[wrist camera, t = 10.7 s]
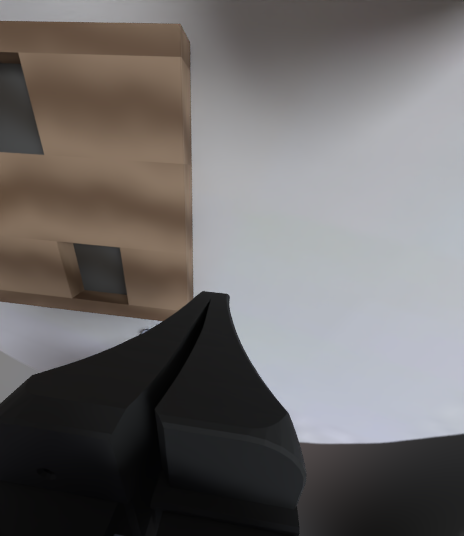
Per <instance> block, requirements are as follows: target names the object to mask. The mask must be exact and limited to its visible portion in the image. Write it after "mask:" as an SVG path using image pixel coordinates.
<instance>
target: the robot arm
mask: <svg viewBox="0 0 464 536" xmlns="http://www.w3.org/2000/svg"><path fill="white" fill-rule="evenodd" d="M229 299H230V296H229V295H228V294H223V293H214V292H205V291H202V292H201V293H200V294H198V295H197V296H196V297H195V298H193V299H192V300H191V301H190V302H189V303H187V304H186V305H185V306H183V307H182V308H181V309H180V310H178V311H177V312H176V313H174V314H173V315H171V316H170V317H168V318H167V319H166V320H164V321H163V322H161V323H160V324H158V325H156V326H155V327H153V328H151V329H149V330H144V331H143V332H142V333H141V334H140V335H138V336H136V337H134V338H132V339H130V340H128V341H126V342H124V343H122V344H119V345H117V346H115V347H113V348H111V349H108V350H106V351H103V352H101V353H98V354H96V355H93V356H90V357H87V358H85V359H82V360H79V361H76V362H73V363H70V364H67V365H64V366H61V367H58V368H54V369H51V370H48V371H45V372H42V373H38V374H35V375H32V376H31V377H30V378H29V379H27V380H26V381H25V382H24V383H23V384H22V385H21V386H20V387H19V388H17V389H16V390H15V391H14V392H13V393H12V394H11V395H9V396H8V397H7V398H6V399H5V400H4V401H3V402H2V403H1V404H0V536H299V521H298V512H297V504H298V501H299V498H300V496H301V494H302V491H303V488H304V486H305V482H306V469H305V463H304V459H303V455H302V451H301V448H300V444H299V441H298V438H297V435H296V431H295V429H294V426H293V423H292V420H291V418H290V415H289V413H288V412H287V411H286V410H285V409H284V407H283V406H282V405H281V404H280V403H279V401H278V400H277V399H276V398H275V396H274V395H273V394H272V392H271V391H270V390H269V388H268V387H267V386H266V384H265V383H264V382H263V380H262V379H261V377H260V376H259V374H258V373H257V371H256V369H255V368H254V366H253V365H252V363H251V361H250V360H249V358H248V356H247V354H246V352H245V351H244V349H243V346H242V344H241V342H240V340H239V338H238V335H237V333H236V330H235V327H234V324H233V321H232V317H231V313H230V308H229Z"/></svg>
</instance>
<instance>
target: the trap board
mask: <svg viewBox="0 0 464 536" xmlns="http://www.w3.org/2000/svg"><path fill="white" fill-rule="evenodd" d="M192 299H193V239H192V162H191V85H190V42H189V40H188V38H187V36H186V34H185V32H184V30H183V28H182V26H181V24H157V23H94V22H30V21H0V301H1V302H9V303H17V304H26V305H34V306H42V307H50V308H59V309H67V310H75V311H83V312H92V313H100V314H108V315H116V316H125V317H133V318H141V319H149V320H158V321H164V320H166V319H167V318H168V317H170V316H171V315H173V314H174V313H176V312H177V311H178V310H180V309H181V308H182V307H183V306H185V305H186V304H187V303H189V302H190V301H191V300H192Z"/></svg>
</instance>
